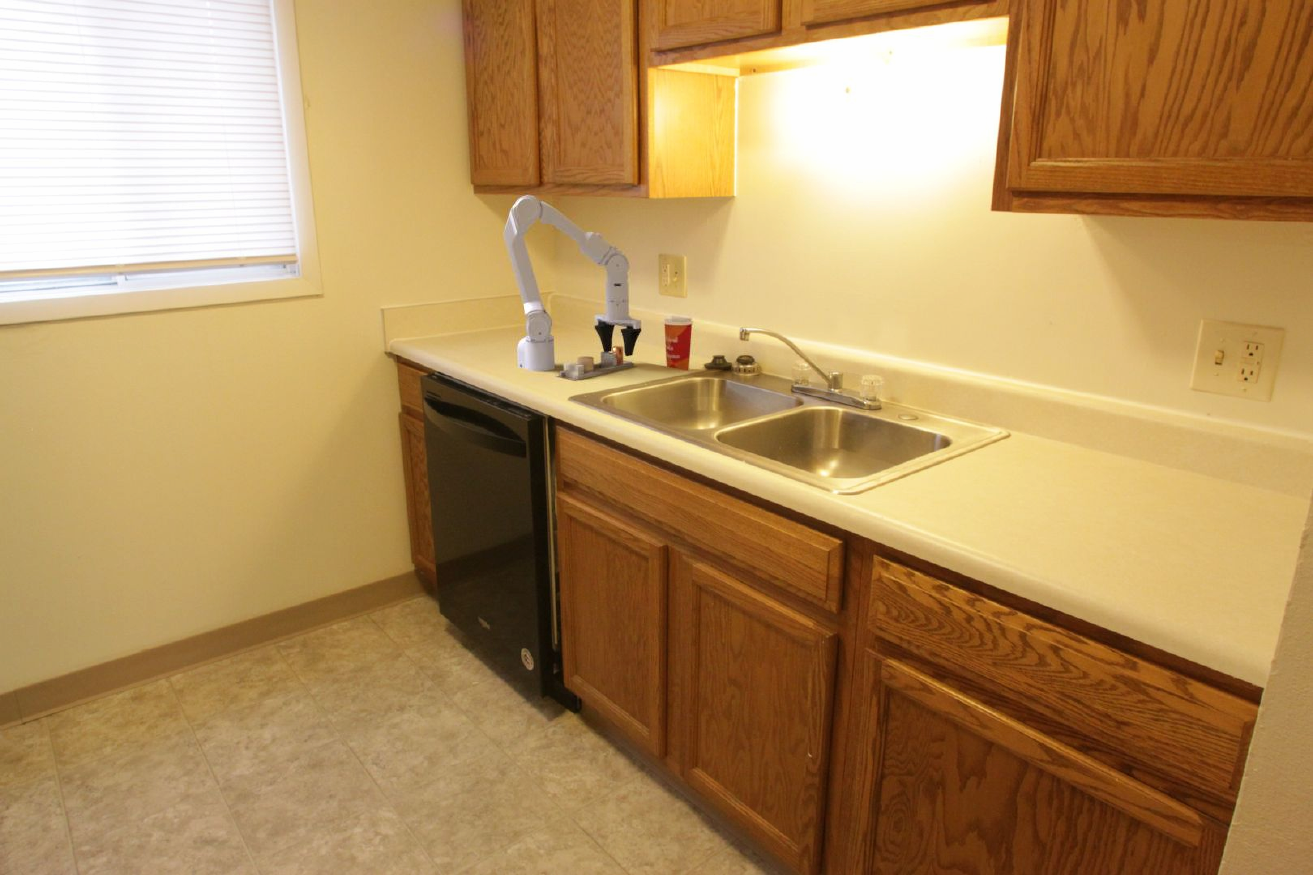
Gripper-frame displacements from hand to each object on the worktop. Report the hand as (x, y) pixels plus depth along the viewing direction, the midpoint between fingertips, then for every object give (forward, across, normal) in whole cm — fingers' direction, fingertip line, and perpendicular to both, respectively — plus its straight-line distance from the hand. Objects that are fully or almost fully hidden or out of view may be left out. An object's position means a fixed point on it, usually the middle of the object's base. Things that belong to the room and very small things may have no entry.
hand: (618, 353), depth 225 cm
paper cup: (+5, -10, -11) cm, 16 cm away
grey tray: (+5, 0, +8) cm, 9 cm away
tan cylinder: (+3, 0, +12) cm, 12 cm away
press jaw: (+3, 0, +1) cm, 3 cm away
